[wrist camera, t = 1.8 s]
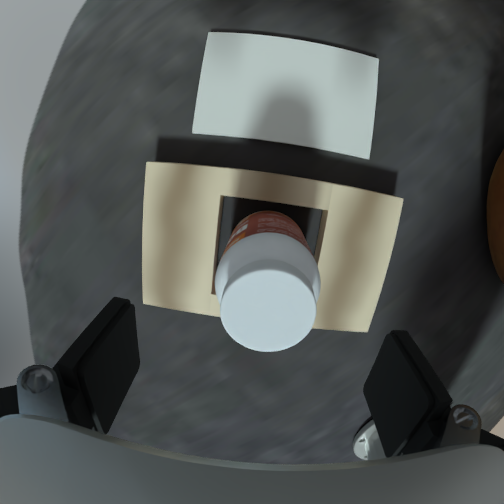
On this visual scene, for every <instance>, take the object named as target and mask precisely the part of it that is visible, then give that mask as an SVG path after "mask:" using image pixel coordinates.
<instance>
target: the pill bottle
mask: <svg viewBox="0 0 504 504" xmlns="http://www.w3.org/2000/svg"><path fill="white" fill-rule="evenodd" d="M320 289H321V280H320V274H319V270H318V266H317V263H316V261H315V258H314V256H313V254H312V252H311V250H310V248H309V246H308V244H307V242H306V240H305V237H304V235H303V233H302V231H301V229H300V228H299V226H298V225H297V224H296V223H295V222H294V221H293V220H292V219H291V218H289V217H288V216H286V215H284V214H282V213H280V212H276V211H259V212H256V213H253V214H251V215H249V216H247V217H245V218H244V219H243V220H241V221H240V222H239V223H238V225H237V226H236V227H235V229H234V230H233V232H232V234H231V236H230V239H229V241H228V243H227V246H226V248H225V250H224V253H223V255H222V257H221V260H220V262H219V265H218V267H217V271H216V276H215V291H216V295H217V299H218V302H219V304H220V316H221V320H222V323H223V326H224V328H225V329H226V331H227V332H228V334H229V335H230V336H231V337H232V338H233V339H234V340H235V341H237V342H238V343H239V344H241V345H243V346H245V347H247V348H250V349H253V350H257V351H264V352H272V351H279V350H283V349H286V348H289V347H291V346H293V345H295V344H297V343H298V342H300V341H301V340H302V339H303V338H304V337H305V336H306V335H307V334H308V333H309V331H310V330H311V328H312V326H313V324H314V322H315V318H316V313H317V306H316V303H317V301H318V298H319V294H320Z"/></svg>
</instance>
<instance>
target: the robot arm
mask: <svg viewBox="0 0 504 504" xmlns="http://www.w3.org/2000/svg"><path fill="white" fill-rule="evenodd" d="M139 366H140V358H139V349H138V340H137V330H136V318H135V307H134V305H133V304H131V303H130V300H128V299H123V298H118V297H114V298H112V300H111V301H110V302H109V303H108V304H107V305H106V306H105V307H104V308H103V309H102V311H101V312H100V313H99V314H98V315H97V316H96V317H95V319H94V320H93V321H92V322H91V323H90V324H89V325H88V327H87V328H86V329H85V330H84V331H83V332H82V333H81V334H80V336H79V337H78V338H77V339H76V340H75V342H74V343H73V344H72V345H71V346H70V348H69V349H68V350H67V351H66V352H65V354H64V355H63V356H62V357H61V358H60V360H59V361H58V362H57V363H56V365H55V366H54V367H53V368H51V367H49V366H47V365H42V364H36V365H31V366H28V367H27V368H25V369H23V370H22V371H21V372H20V374H19V376H18V378H17V385H14V386H10V387H5V388H0V504H504V439H503V438H500V437H498V436H496V435H494V434H491V433H489V432H487V431H485V430H483V429H481V425H482V424H481V418H480V416H479V414H478V413H477V412H476V411H475V410H474V409H473V408H471V407H469V406H467V405H460V404H459V405H456V406H454V407H453V408H452V409H451V407H450V406H449V405H450V404H451V402H452V401H453V400H452V398H451V397H450V395H449V393H448V392H447V390H446V389H445V387H444V386H443V384H442V382H441V381H440V379H439V378H438V376H437V375H436V373H435V372H434V370H433V369H432V367H431V366H430V364H429V363H428V361H427V360H426V358H425V357H424V355H423V354H422V352H421V351H420V349H419V348H418V346H417V345H416V343H415V342H414V341H413V339H412V338H411V336H410V335H409V334H408V332H407V331H404V330H393V331H391V332H390V334H387V335H386V337H385V339H384V342H383V344H382V346H381V349H380V351H379V353H378V356H377V358H376V360H375V363H374V365H373V367H372V369H371V371H370V374H369V376H368V378H367V380H366V382H365V384H364V388H363V392H364V395H365V398H366V401H367V404H368V406H369V409H370V412H371V415H372V418H373V420H371V421H370V422H369V423H367V424H366V425H365V426H364V427H363V428H362V429H361V430H360V431H359V432H358V433H357V435H356V436H355V438H354V441H353V449H354V453H355V454H356V456H358V457H359V458H361V459H365V460H367V461H358V462H347V463H333V464H306V465H288V464H261V463H247V462H236V461H227V460H219V459H211V458H204V457H198V456H192V455H186V454H181V453H176V452H171V451H166V450H162V449H158V448H153V447H149V446H145V445H142V444H138V443H134V442H130V441H126V440H123V439H119V438H116V437H113V436H109V435H106V434H107V433H108V431H109V429H110V427H111V425H112V423H113V421H114V419H115V417H116V415H117V412H118V410H119V408H120V406H121V404H122V402H123V400H124V398H125V396H126V394H127V392H128V390H129V388H130V386H131V384H132V382H133V380H134V378H135V376H136V374H137V372H138V369H139ZM103 433H104V434H103Z"/></svg>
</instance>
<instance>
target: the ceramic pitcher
mask: <svg viewBox="0 0 504 504" xmlns="http://www.w3.org/2000/svg"><path fill="white" fill-rule="evenodd" d="M487 235H488V243H489V248H490V253H491V257H492V261H493V264H494V266H495V269H496V272H497V274H498V276H499V278H500V279H501V281H502V282H503V284H504V149H503V151H502V153H501V155H500V156H499V158H498V160H497V162H496V164H495V167H494V170H493V173H492V176H491V179H490V182H489V189H488V196H487Z"/></svg>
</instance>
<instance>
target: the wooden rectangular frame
mask: <svg viewBox="0 0 504 504" xmlns="http://www.w3.org/2000/svg"><path fill="white" fill-rule="evenodd" d="M224 196H232V197H240V198H248V199H256V200H263V201H270V202H277V203H284V204H291V205H298V206H304V207H310V208H317V209H323V211H322V217H321V222H320V228H319V233H318V239H317V244H316V249H315V254H314V258H315V261H316V263H317V266H318V270H319V274H320V280H321V289H320V294H319V298H318V301H317V303H316V306H317V313H316V318H315V322H314V324H313V326H312V328H317V329H329V330H341V331H356V332H368V329H369V326H370V323H371V320H372V317H373V315H374V311H375V308H376V305H377V302H378V299H379V296H380V293H381V289H382V286H383V282H384V279H385V276H386V272H387V268H388V265H389V261H390V257H391V253H392V249H393V245H394V241H395V237H396V233H397V228H398V224H399V219H400V214H401V209H402V204H403V199H402V198H399V197H396V196H393V195H389V194H384V193H380V192H375V191H371V190H366V189H361V188H356V187H351V186H346V185H341V184H336V183H330V182H325V181H319V180H313V179H307V178H301V177H295V176H289V175H282V174H275V173H268V172H261V171H253V170H245V169H236V168H228V167H218V166H208V165H197V164H185V163H172V162H156V161H155V162H147V163H146V175H145V189H144V207H143V236H142V282H143V304H148V305H153V306H159V307H164V308H169V309H175V310H181V311H187V312H193V313H199V314H205V315H211V316H218V317H221V316H220V304H219V302H218V299H217V295H216V291H215V276H216V268H217V257H218V247H219V236H220V227H221V217H222V208H223V199H224Z"/></svg>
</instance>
